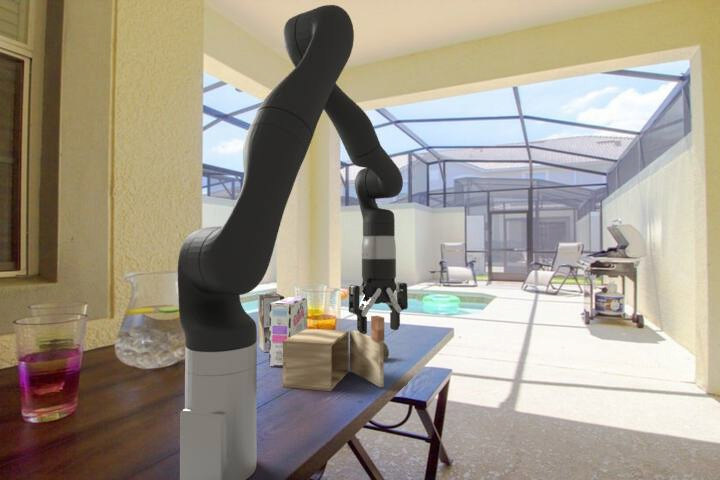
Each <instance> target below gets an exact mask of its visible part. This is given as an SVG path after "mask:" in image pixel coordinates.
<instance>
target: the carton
mask: <svg viewBox="0 0 720 480" xmlns="http://www.w3.org/2000/svg"><path fill="white" fill-rule="evenodd" d="M349 371H350V330H346V329H344V330H342V329H341V330H340V329H339V330H338V329H325V328H324V329H321V328H317V329H316V328H307V329H305V330H303V331H301V332H299V333H297V334H295V335H293V336H291V337H289V338H288V339H286V340H284V341H283V367H282V387H283V388H292V389H302V390H304V389H306V390H313V391H327V392H331V391H332V390H333V389H334V388H335V387H336V386H337V385H338V384H339V383H340V382H341V381H342V380H343V378H344V377H345V376H347V374H348V373H349Z"/></svg>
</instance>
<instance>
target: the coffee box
mask: <svg viewBox="0 0 720 480" xmlns="http://www.w3.org/2000/svg"><path fill="white" fill-rule="evenodd" d="M257 299H258V303H257V304H258V308H257V309H258V312H257V313H258V336H257V337H258V338H257V340H258V343H257V347H258V348H259V349H260V350H261V351H262V352H263V353H269V334H270V333H269V332H270V303H273V302H276V301H280V300H283V299H285V296H284V295H281V294H278V293H267V294H258V297H257Z"/></svg>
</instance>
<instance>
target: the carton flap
mask: <svg viewBox="0 0 720 480" xmlns="http://www.w3.org/2000/svg"><path fill="white" fill-rule="evenodd" d="M383 342H385V317H384V316H379V315H371V316H370V335H368V334H367V333H366V334H362V333H360V332H359V331H358V330H354V329H349V371H351V372H352V373H354V374H356V375H358V376H359V377H362V378H363V379H365V380H366V381H368V382H370V383H372V384H374V385H375V386H377V387H379V388H384V385H385V383H384V361H383Z"/></svg>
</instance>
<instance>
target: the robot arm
mask: <svg viewBox="0 0 720 480" xmlns="http://www.w3.org/2000/svg"><path fill="white" fill-rule="evenodd" d="M282 32H283V33H282V35H283V45H284V48H285V51H286V53H287V55H288V57H289V59H290V61H291V63H292V65H293V67H294V69H293V70H292V71H291V72H289V73H288V75H286V76H285V77H284V79H282V80H281V81H280V82H279V83H278V84H277V86H275V87H274V89H272V90H271V91H270V92H269V93H268V95H267V96H266V97H264V99H263V100H262V102H261V104H260V105H259V107H258V109H257V111H256V112H255V115H254V118H252V121H251V123H250V126H249V128H248V130H247V132H246V135H245V137H244V142H243V147H242V162H243V164H242V165H243V181H242V187H241V190H240V192H239V195H238V197H237V199H236V201H235V204H234V206H233V207H232V210H231V211H230V214H229V215H228V217H227V218H226V220H225V222H224V224H223V225H221V226H209V227H203V228H199V229H197V230H195V231H193V232H191V233H190V234H189V235H188V236H187V237H186V238H185V239H184V241H183V243H182V245H181V247H180V249H179V254H178V260H177V295H178V296H177V297H178V298H177V300H178V316H179V322H180V325H181V328H182V331H183V333H184V338H185V339H184V340H185V342H184V343H185V344H184V345H185V347H184V348H185V349H184V350H185V354H184V357H185V360H184V361H185V365H184V366H185V368H184V370H185V371H184V409H182V410H181V411H180V417H179V419H180V420H179V421H180V425H179V429H180V430H179V433H180V434H179V438H180V439H179V480H247V479H249V478H250V477H251V476H252V475H253V474H254V473H255V471H256V469H257V457H258V456H257V448H258V447H257V444H258V443H257V401H258V400H257V399H258V397H257V377H258V376H257V371H258V370H257V358H258V357H257V355H258V351H257V350H258V343H257V342H258V338H257V337H258V336H257V335H258V330H257V328H258V327H257V324H256V322H255V320H254V319H253V318H252V317H251V316H250V315H249V314H248V313H247V312H246V310H245V309H244V307H243V304H242V302H241V296H243V295H246V294H248V293H250V292H251V291H253V290H254V289H256V288H257V287H258V286H259V285H260V283H261V282H262V281H263V279H264V277H265V275H266V273H267V271H268V268H269V266H270V263H271V259H272V256H273V253H274V249H275V245H276V242H277V238H278V234H279V231H280V227H281V223H282V220H283V216H284V214H285V213H284V212H285V210H286V207H287V203H288V201H289V198H290V195H291V194H292V190H293V188H294V184H295V182H296V180H297V176H298V174H299V171H300V169H301V167H302V164H303V163H304V160H305V158H306V155H307V153H308V150H309V148H310V145H311V142H312V140H313V137H314V134H315V131H316V129H317V125H318V123H319V121H320V118H321V116H322V114H323V111H324V112H325V113H326V115H327V117H328V118H329V120H330V121H331V123H332V125H333V127H334V128H335V130H336V132H337V134H338V136H339V138H340V140H341V143H342V144H343V147H344V149H345V151H346V153H347V155H348V158H349V159H350V161H351V163H352V165H354V166H356V167H360V168H362V169H359V171H358V172H357V173H356V176H355V179H354V188H355V189H354V190H355V194H356V196H357V199H358V204H359V208H360V211H361V216H362V243H361V278H362V283H361V285H355V284H350V285H349V286H348V312H349V313H351V314H353V315H356V329H357V331H358V332H360V333H362V334H366V335H367V333H368V317H367V315H368V313H369V311H370V309H372V308H373V306H374V305H378V304H386V305H387V306H388V308H389V309H390V311H391V312H390V313H389V316H390V317H389V318H390V319H389V320H390V321H389V322H390V327H389V328H390V329H391V330H393V331H398V330H399V328H400V325H401V312H402V311H404V310H407V309H408V307H409V306H408V305H409V304H408V303H409V301H408V284H407V283H406V282H396V281H395V279H396V277H397V247H396V245H397V244H396V237H395V236H396V234H395V214H394V212H393V211H392V210H390V209H386V208H381V207H379V206H378V204H377V201H376V199H377V200H378V199H392V198H395V197H397V196H399V194H401V192H402V189H403V187H404V181H403V176H402V175H403V174H402V172H401V170H400V168H399V167H398V165H397V164H396V163H395V162H394V161H393V159H392V158H391V157H390V156H389V154H388V152H386V150H385V149H384V148H383V146H382V145H381V142H380V140H379V137H378V135H377V133H376V130H375V128H374V125H373V123H372V121H371V119H370V117H369V116H368V114H367V113H366V112H365V111H364V110H363V108H361V107H360V105H358V104H357V103H356V102H355V101H354V100H353V99H352V98H350V97H349V96H348V95H347V94H346V93H345V91H343V89H342V88H340V86H339V85H338V84H337V81H338V79H339V78H340V76H341V74H342V72H343V70H344V69H345V67H346V65H347V63H348V61H349V59H350V58H351V54H352V52H353V47H354V40H355V31H354V25H353V22H352V19H351V16H350V15H349V13H348V12H347V11H346V10H345V9H344V8H343V7H341V6H339V5H336V4H326V5H321V6H318V7H316V8H313V9H311V10H308V11H304V12H302V13H299V14H297V15H294V16H292V17H290V18H288V20H286V22H285V25H284V28H283V31H282ZM395 292H396V296H395V295H394V293H395ZM362 293H363V297H362V298H361V300H360V296H361V295H362Z"/></svg>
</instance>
